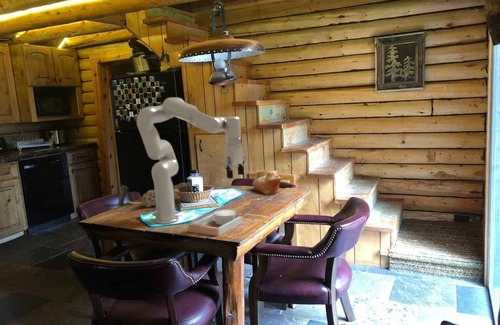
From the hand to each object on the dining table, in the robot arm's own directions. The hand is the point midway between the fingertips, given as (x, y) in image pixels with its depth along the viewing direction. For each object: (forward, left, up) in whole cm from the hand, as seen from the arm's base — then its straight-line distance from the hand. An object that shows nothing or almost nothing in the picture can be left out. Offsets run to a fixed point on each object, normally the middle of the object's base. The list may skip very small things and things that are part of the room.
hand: (235, 176), depth 198 cm
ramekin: (-7, -2, -24) cm, 25 cm away
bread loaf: (-18, +68, -24) cm, 74 cm away
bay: (-7, -10, -24) cm, 27 cm away
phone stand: (-86, +6, -24) cm, 89 cm away
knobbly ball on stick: (-68, +5, -24) cm, 72 cm away
